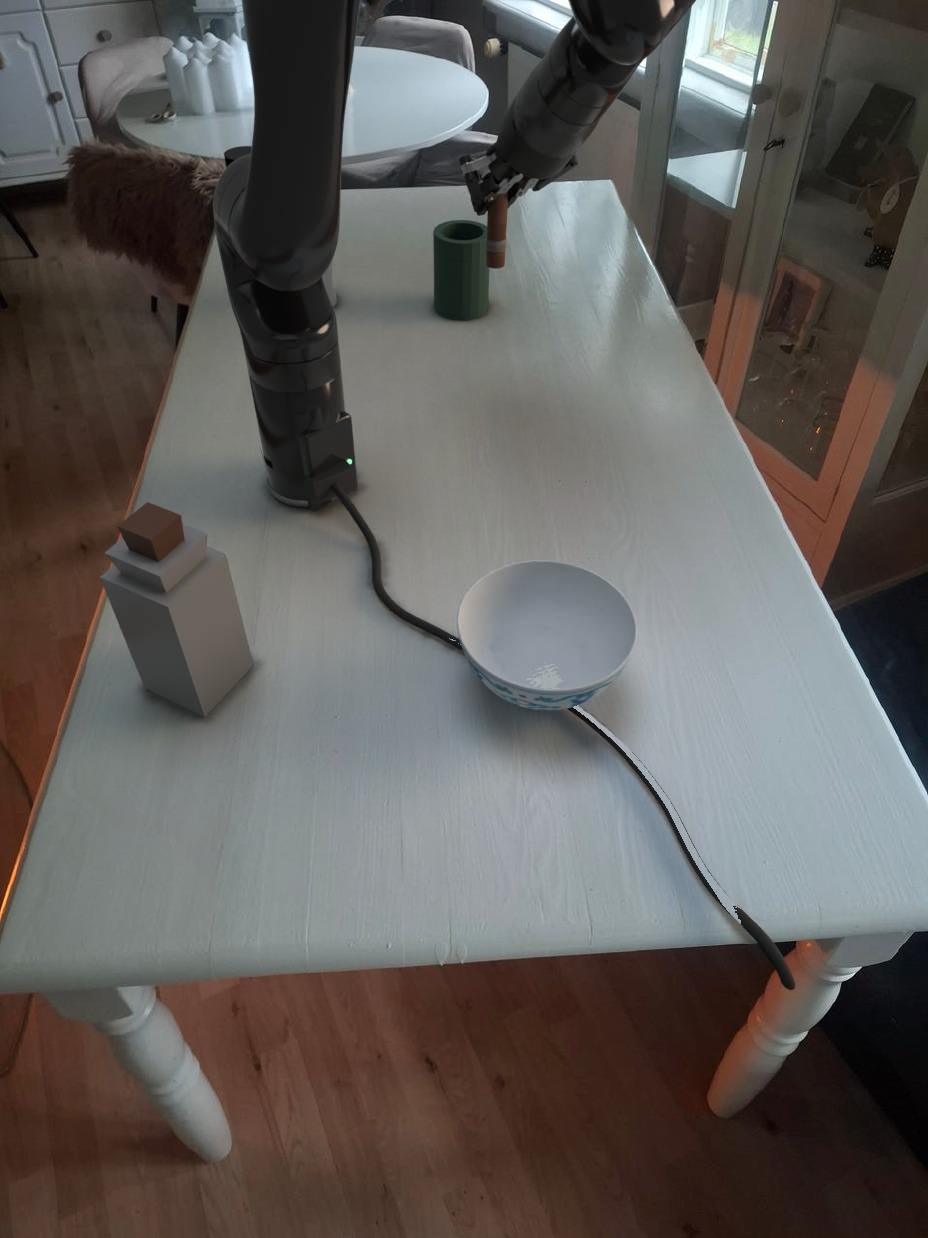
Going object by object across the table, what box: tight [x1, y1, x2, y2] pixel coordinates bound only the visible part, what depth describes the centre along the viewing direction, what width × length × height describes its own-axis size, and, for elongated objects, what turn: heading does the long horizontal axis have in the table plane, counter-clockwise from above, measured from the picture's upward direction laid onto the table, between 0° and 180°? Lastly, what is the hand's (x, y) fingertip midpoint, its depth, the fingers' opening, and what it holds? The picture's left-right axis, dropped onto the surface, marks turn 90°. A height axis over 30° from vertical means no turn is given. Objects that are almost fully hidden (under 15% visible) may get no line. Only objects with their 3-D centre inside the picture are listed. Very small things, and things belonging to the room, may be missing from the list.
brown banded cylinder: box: [486, 191, 509, 270], centre depth 96 cm, size 2×2×10 cm
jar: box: [432, 219, 490, 321], centre depth 122 cm, size 8×8×11 cm
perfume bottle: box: [99, 501, 254, 718], centre depth 70 cm, size 7×7×18 cm
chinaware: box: [456, 559, 638, 712], centre depth 74 cm, size 15×15×8 cm
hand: (488, 204), depth 97 cm, fingers closed on brown banded cylinder, 2 cm apart
